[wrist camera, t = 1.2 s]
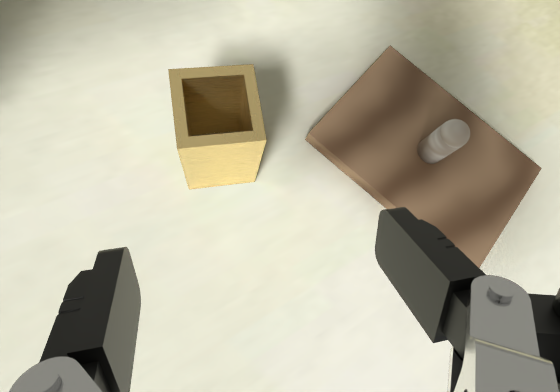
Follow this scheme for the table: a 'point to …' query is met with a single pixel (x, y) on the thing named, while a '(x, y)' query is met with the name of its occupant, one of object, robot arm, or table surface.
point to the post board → (403, 175)
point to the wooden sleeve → (217, 124)
